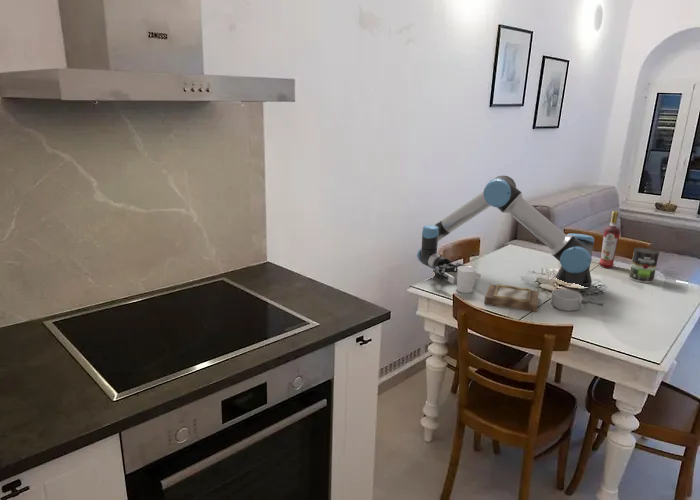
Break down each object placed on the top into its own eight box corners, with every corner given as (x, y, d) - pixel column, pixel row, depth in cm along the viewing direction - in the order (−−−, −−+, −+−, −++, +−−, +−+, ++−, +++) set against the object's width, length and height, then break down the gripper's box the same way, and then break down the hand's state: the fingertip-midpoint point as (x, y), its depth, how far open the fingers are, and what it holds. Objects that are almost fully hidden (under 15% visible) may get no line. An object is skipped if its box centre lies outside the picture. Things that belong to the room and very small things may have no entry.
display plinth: (538, 297, 216) (539, 289, 215) (536, 311, 201) (537, 302, 200) (489, 290, 223) (490, 282, 222) (484, 303, 208) (485, 295, 207)
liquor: (597, 266, 257) (606, 212, 249) (599, 263, 263) (607, 209, 255) (613, 269, 253) (623, 214, 245) (614, 265, 259) (624, 211, 251)
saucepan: (595, 321, 194) (597, 308, 192) (544, 306, 207) (546, 293, 206) (606, 313, 202) (609, 300, 200) (556, 299, 215) (558, 286, 213)
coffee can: (655, 284, 234) (661, 254, 230) (630, 281, 238) (635, 252, 234) (651, 277, 243) (657, 248, 239) (627, 274, 247) (632, 246, 243)
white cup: (475, 293, 219) (477, 271, 216) (457, 293, 219) (459, 271, 216) (471, 287, 226) (473, 265, 223) (454, 286, 226) (455, 265, 224)
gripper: (461, 268, 245) (489, 283, 226) (415, 274, 235) (441, 290, 216) (462, 253, 242) (491, 266, 224) (416, 259, 233) (442, 273, 214)
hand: (466, 278), depth 220 cm, fingers open, 13 cm apart
